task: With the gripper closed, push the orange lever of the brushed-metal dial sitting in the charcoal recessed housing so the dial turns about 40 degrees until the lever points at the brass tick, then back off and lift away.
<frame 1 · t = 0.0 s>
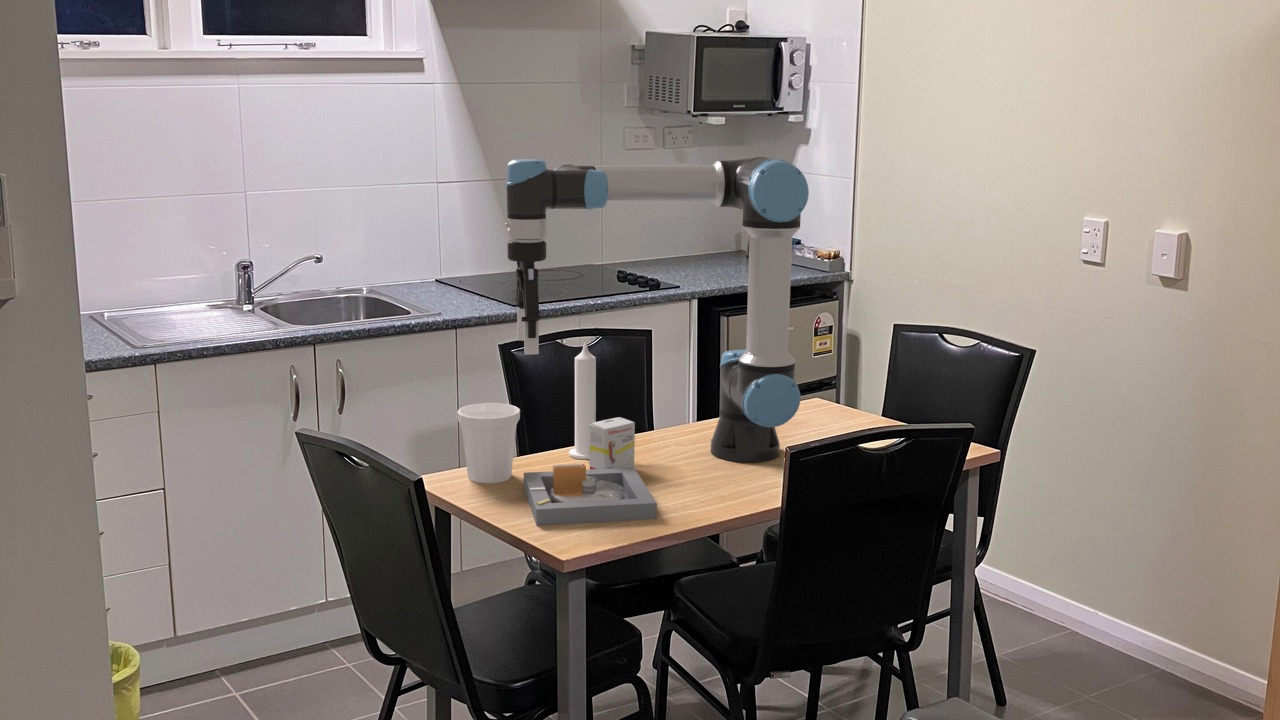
hand: (527, 347, 247), 28 cm above the table, fingers open, 13 cm apart
cup: (490, 484, 252), on the table
dial: (587, 482, 235), point 5 cm above the table, hinge at 0.0°
ink box: (612, 478, 256), on the table
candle: (585, 455, 272), on the table
housing: (587, 509, 237), on the table
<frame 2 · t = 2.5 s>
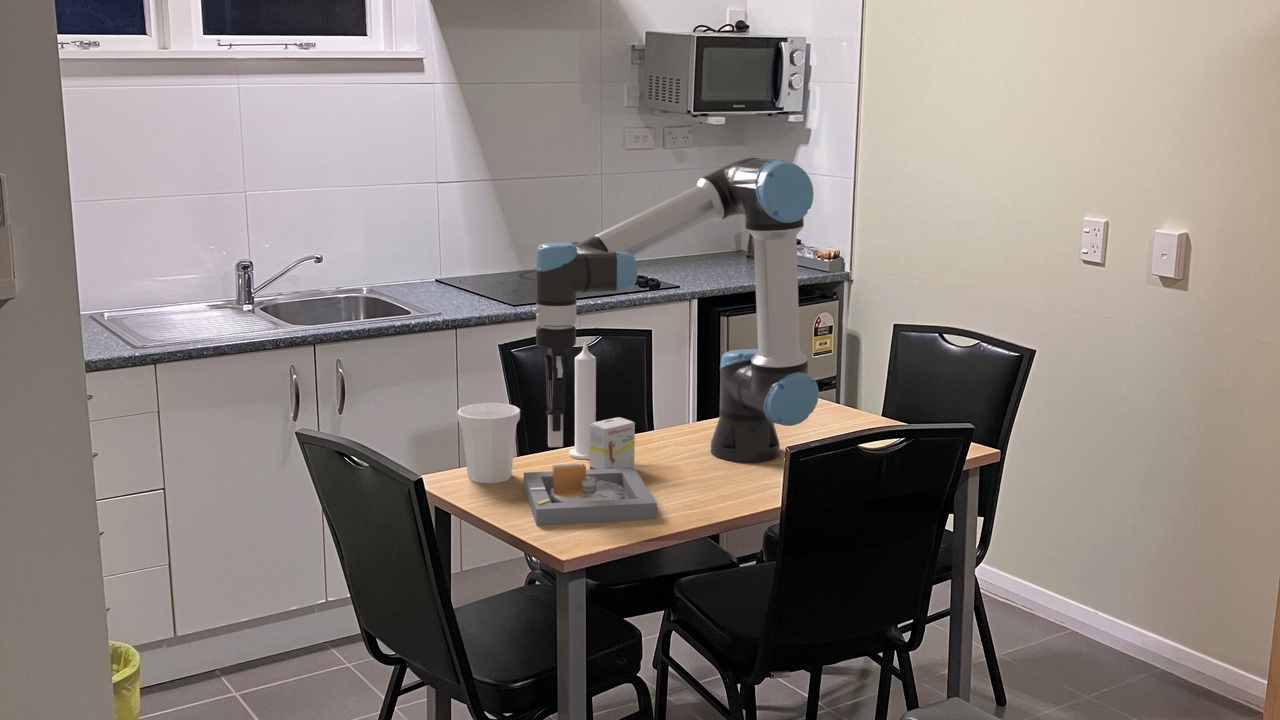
hand: (555, 445, 240), 11 cm above the table, fingers closed
nothing on the table moved.
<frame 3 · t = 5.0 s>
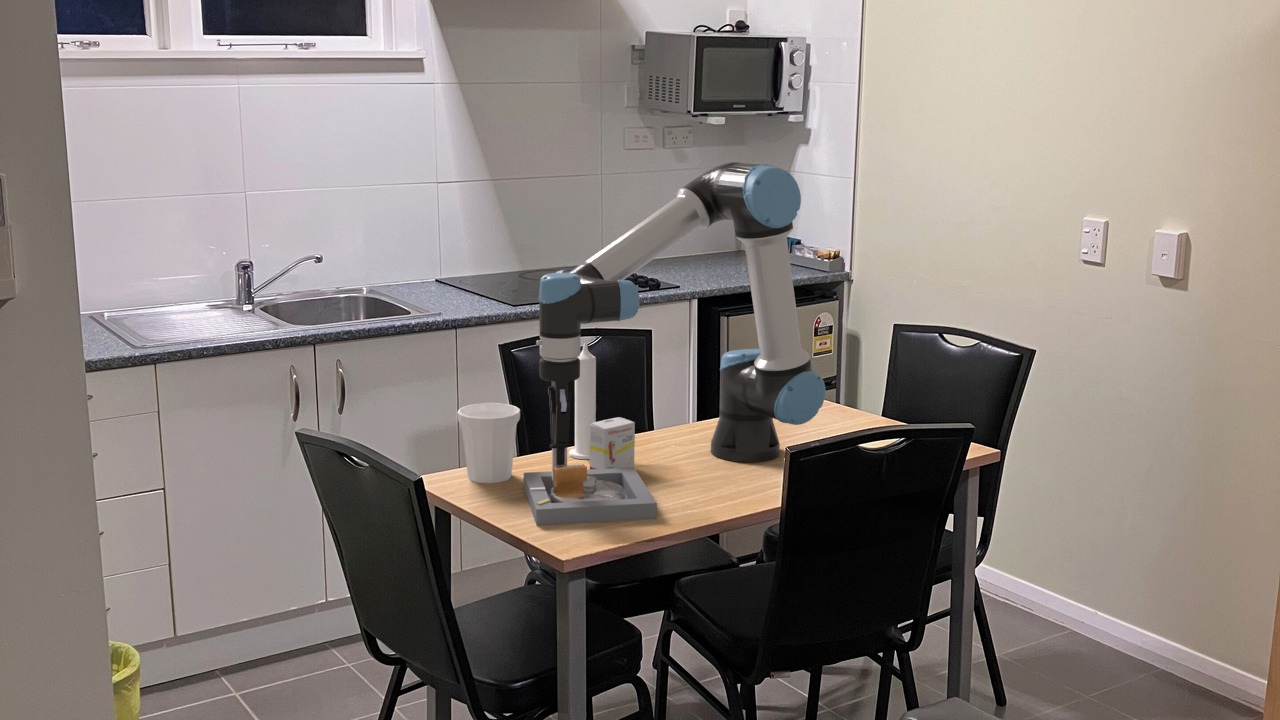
hand: (559, 479, 235), 6 cm above the table, fingers closed
dial: (587, 482, 235), point 5 cm above the table, hinge at 10.9°, touching gripper
everything else where it was.
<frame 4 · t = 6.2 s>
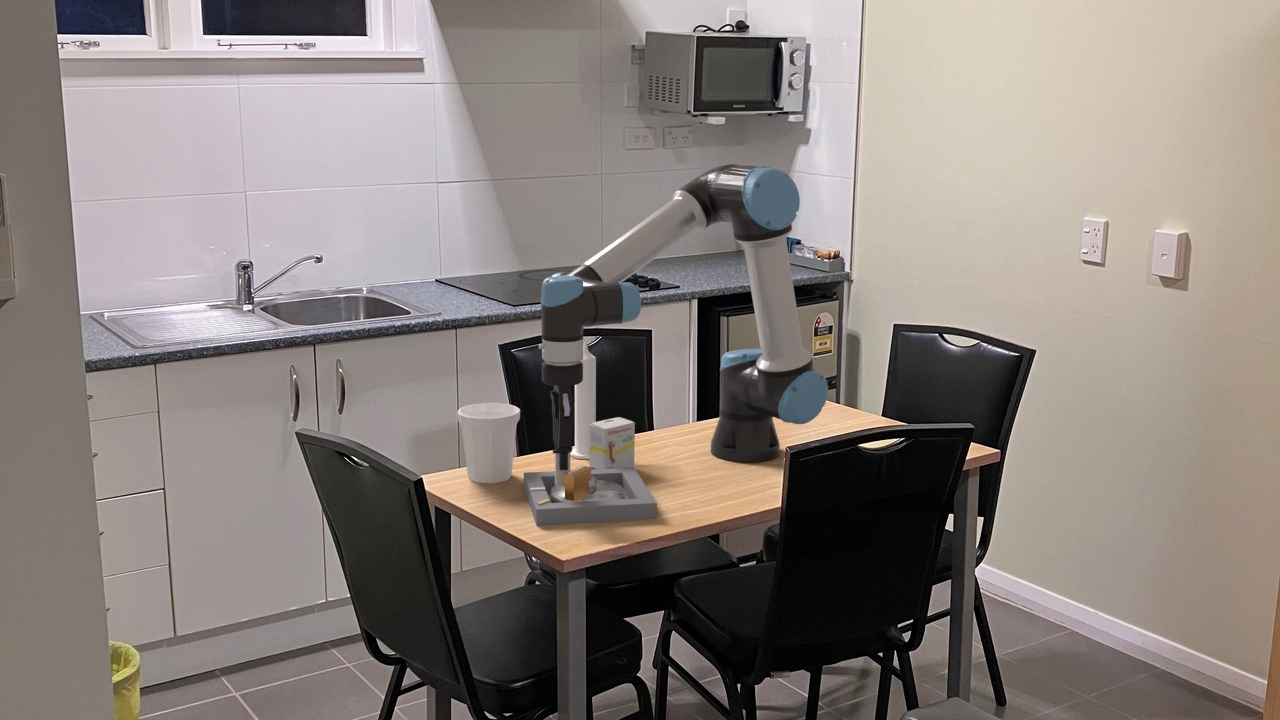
hand: (562, 484, 232), 6 cm above the table, fingers closed
dial: (587, 482, 235), point 5 cm above the table, hinge at 49.6°, touching gripper
everything else where it was.
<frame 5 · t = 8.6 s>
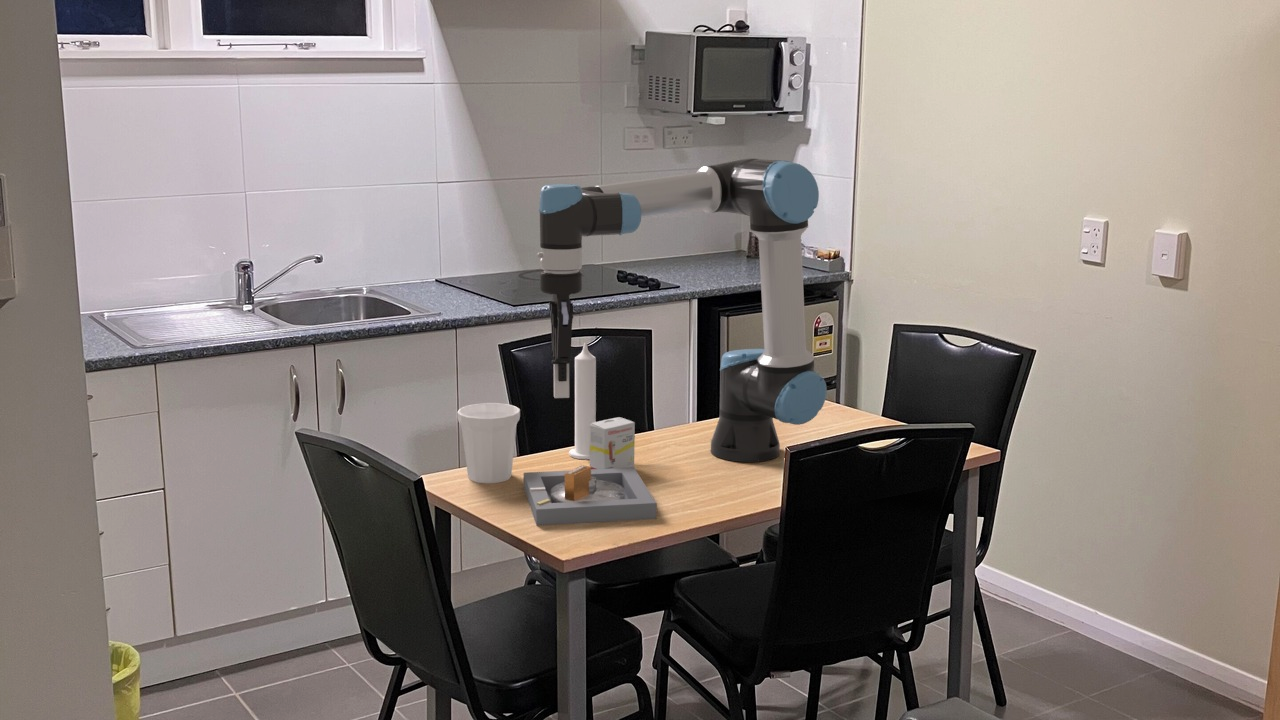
hand: (561, 396, 231), 22 cm above the table, fingers closed
dial: (587, 482, 235), point 5 cm above the table, hinge at 49.8°
everything else where it was.
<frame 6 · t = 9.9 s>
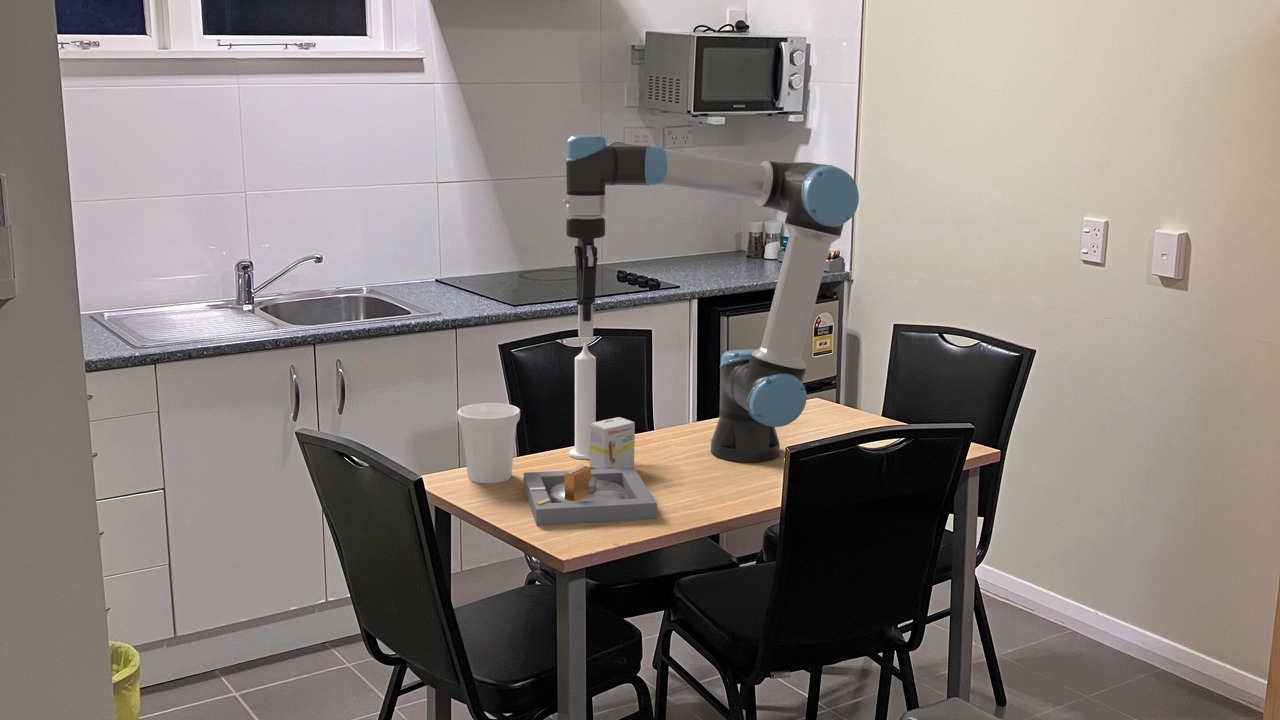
hand: (585, 336, 246), 30 cm above the table, fingers closed
nothing on the table moved.
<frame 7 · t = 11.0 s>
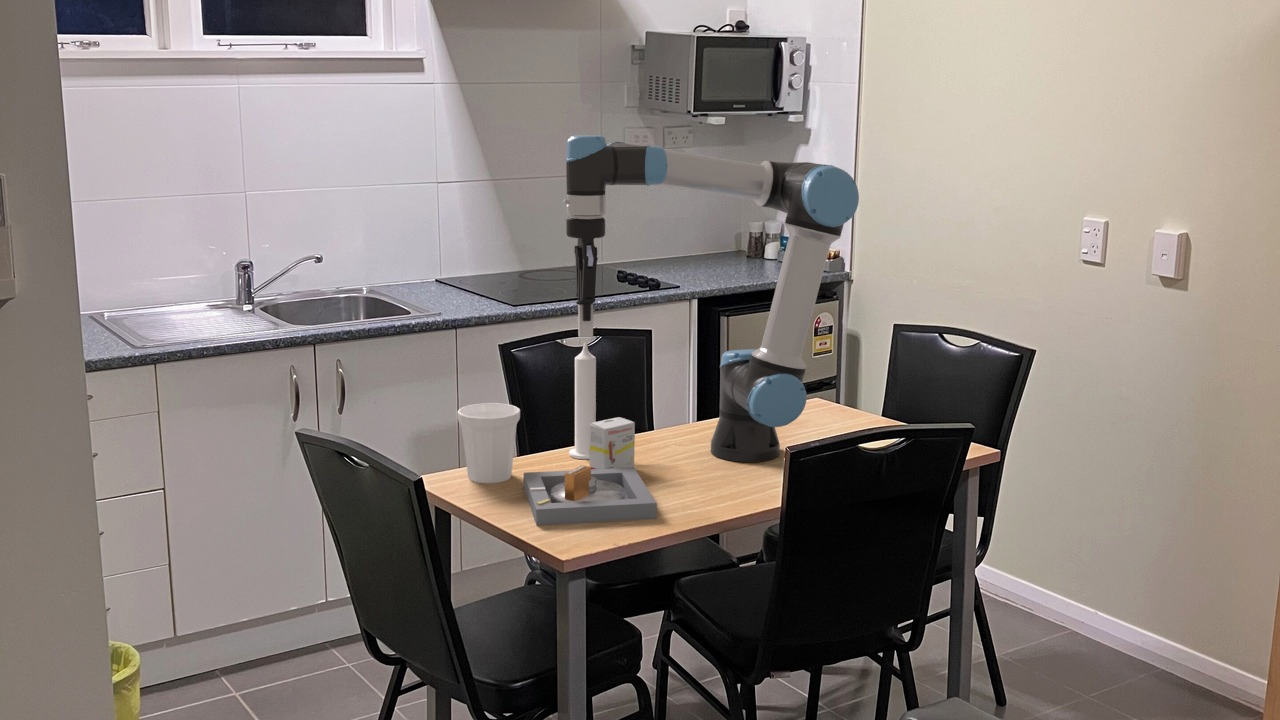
hand: (585, 336, 246), 30 cm above the table, fingers closed
nothing on the table moved.
at the end: dial at +50° (first picture: +0°) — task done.
